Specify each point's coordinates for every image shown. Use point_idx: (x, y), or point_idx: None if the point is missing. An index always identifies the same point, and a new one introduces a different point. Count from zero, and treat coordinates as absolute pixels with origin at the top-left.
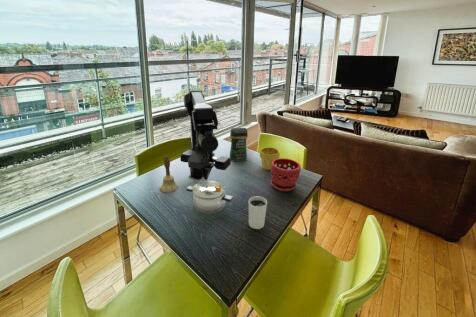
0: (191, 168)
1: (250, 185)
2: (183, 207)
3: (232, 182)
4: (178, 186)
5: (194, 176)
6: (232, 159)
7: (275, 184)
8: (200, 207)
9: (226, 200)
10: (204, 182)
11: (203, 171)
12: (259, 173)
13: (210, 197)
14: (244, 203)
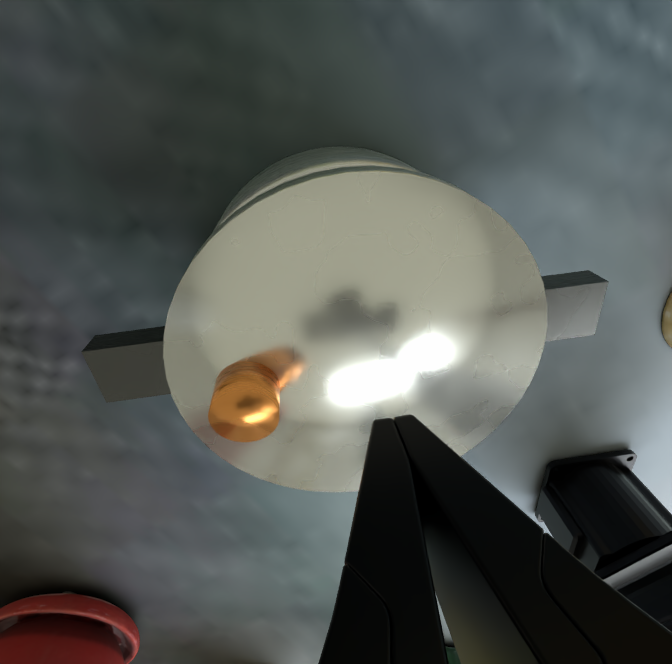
0: (661, 516)
1: (229, 554)
2: (514, 128)
3: (342, 529)
4: (665, 338)
5: (597, 468)
6: (452, 656)
7: (81, 623)
8: (340, 152)
9: (135, 332)
10: (465, 425)
11: (495, 598)
12: (259, 636)
13: (221, 227)
14: (125, 414)
